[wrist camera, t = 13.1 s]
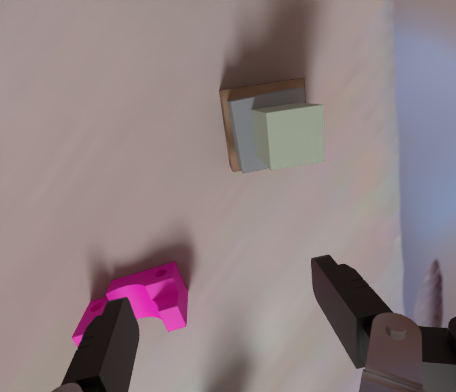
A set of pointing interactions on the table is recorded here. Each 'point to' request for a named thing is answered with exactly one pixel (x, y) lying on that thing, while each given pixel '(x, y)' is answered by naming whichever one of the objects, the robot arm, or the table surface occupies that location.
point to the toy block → (145, 298)
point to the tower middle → (244, 126)
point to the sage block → (289, 135)
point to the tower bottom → (246, 92)
